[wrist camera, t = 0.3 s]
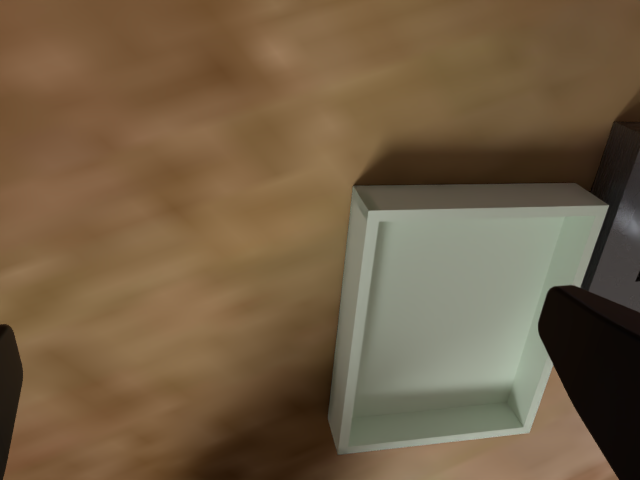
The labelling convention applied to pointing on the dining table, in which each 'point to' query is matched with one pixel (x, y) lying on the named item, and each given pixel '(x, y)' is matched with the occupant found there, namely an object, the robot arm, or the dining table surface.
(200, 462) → the dining table surface
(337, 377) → the tray
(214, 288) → the dining table surface
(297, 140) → the dining table surface
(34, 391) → the dining table surface
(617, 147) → the collar
